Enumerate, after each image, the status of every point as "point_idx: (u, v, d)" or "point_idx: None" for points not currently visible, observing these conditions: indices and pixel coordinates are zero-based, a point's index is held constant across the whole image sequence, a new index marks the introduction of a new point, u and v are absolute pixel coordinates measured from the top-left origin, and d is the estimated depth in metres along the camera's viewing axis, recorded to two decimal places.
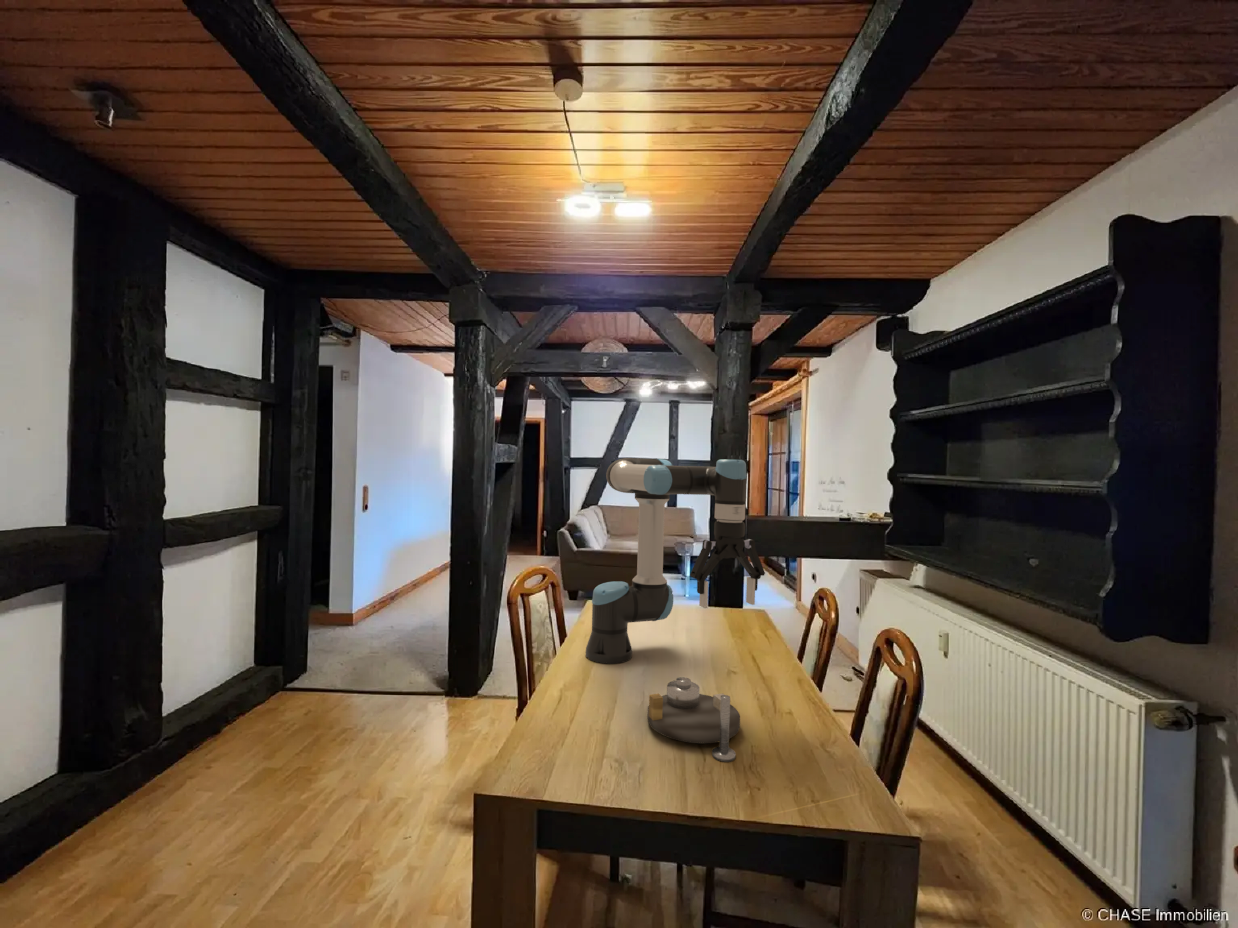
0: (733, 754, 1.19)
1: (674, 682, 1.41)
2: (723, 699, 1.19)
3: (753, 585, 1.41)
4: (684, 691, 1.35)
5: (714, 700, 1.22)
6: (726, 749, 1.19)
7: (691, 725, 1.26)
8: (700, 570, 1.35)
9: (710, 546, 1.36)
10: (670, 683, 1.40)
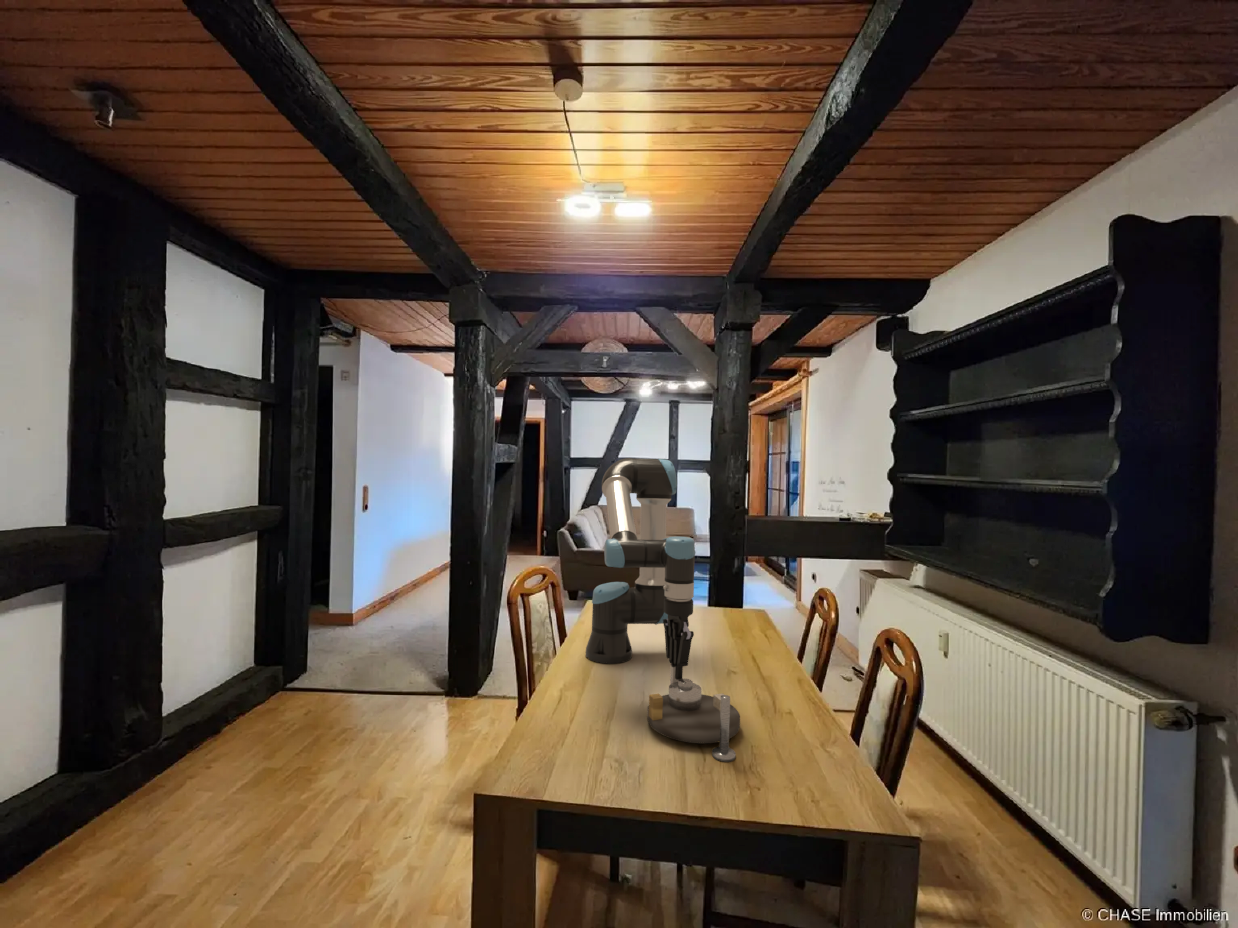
0: (733, 754, 1.19)
1: (676, 683, 1.40)
2: (723, 699, 1.19)
3: (672, 671, 1.41)
4: (686, 692, 1.35)
5: (714, 700, 1.22)
6: (726, 749, 1.19)
7: (691, 725, 1.26)
8: (667, 649, 1.45)
9: (665, 623, 1.46)
10: (672, 684, 1.39)
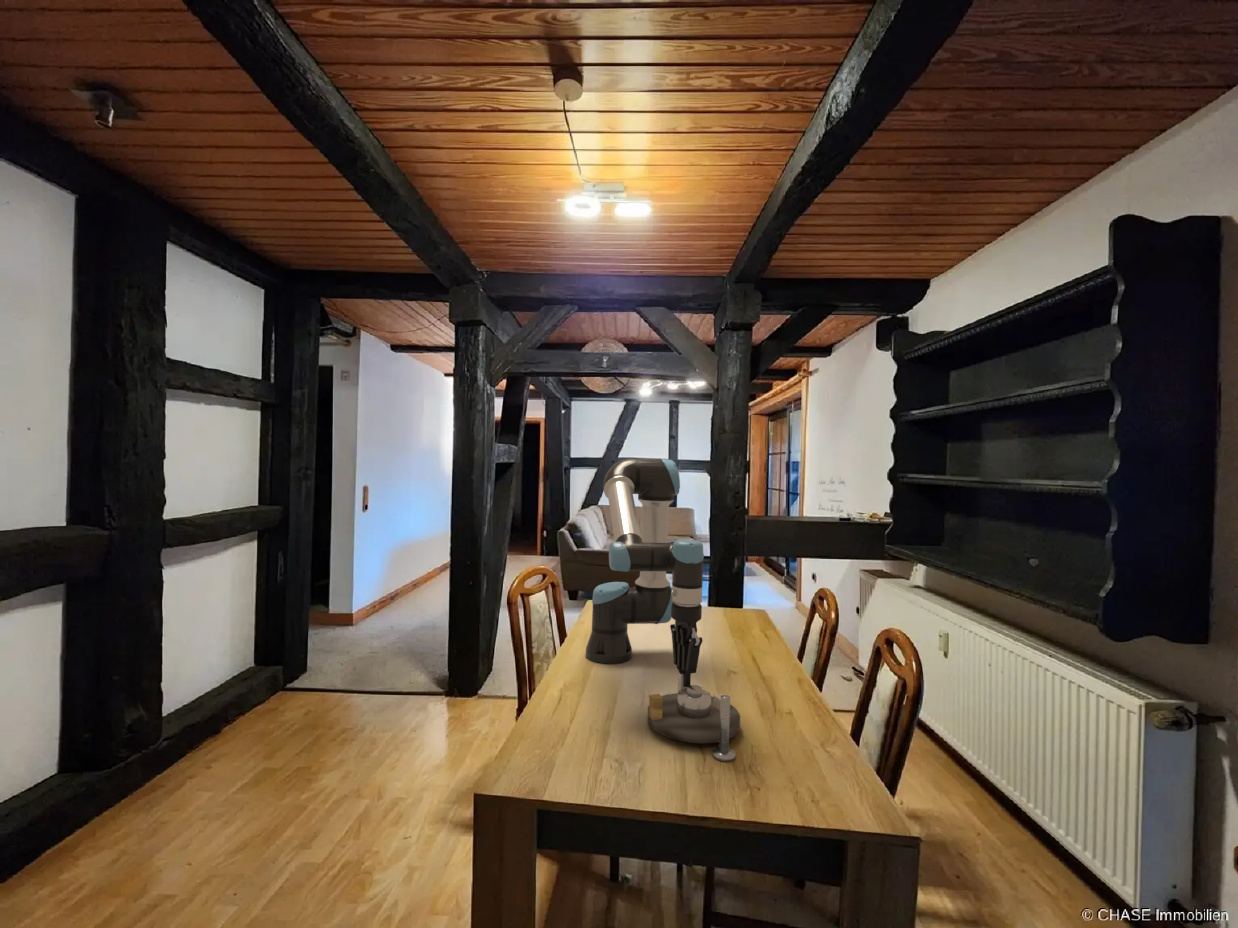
0: (733, 754, 1.19)
1: (684, 690, 1.36)
2: (723, 699, 1.19)
3: (680, 678, 1.37)
4: (696, 700, 1.31)
5: (714, 700, 1.22)
6: (726, 749, 1.19)
7: (691, 725, 1.26)
8: (674, 655, 1.41)
9: (672, 629, 1.42)
10: (680, 691, 1.35)
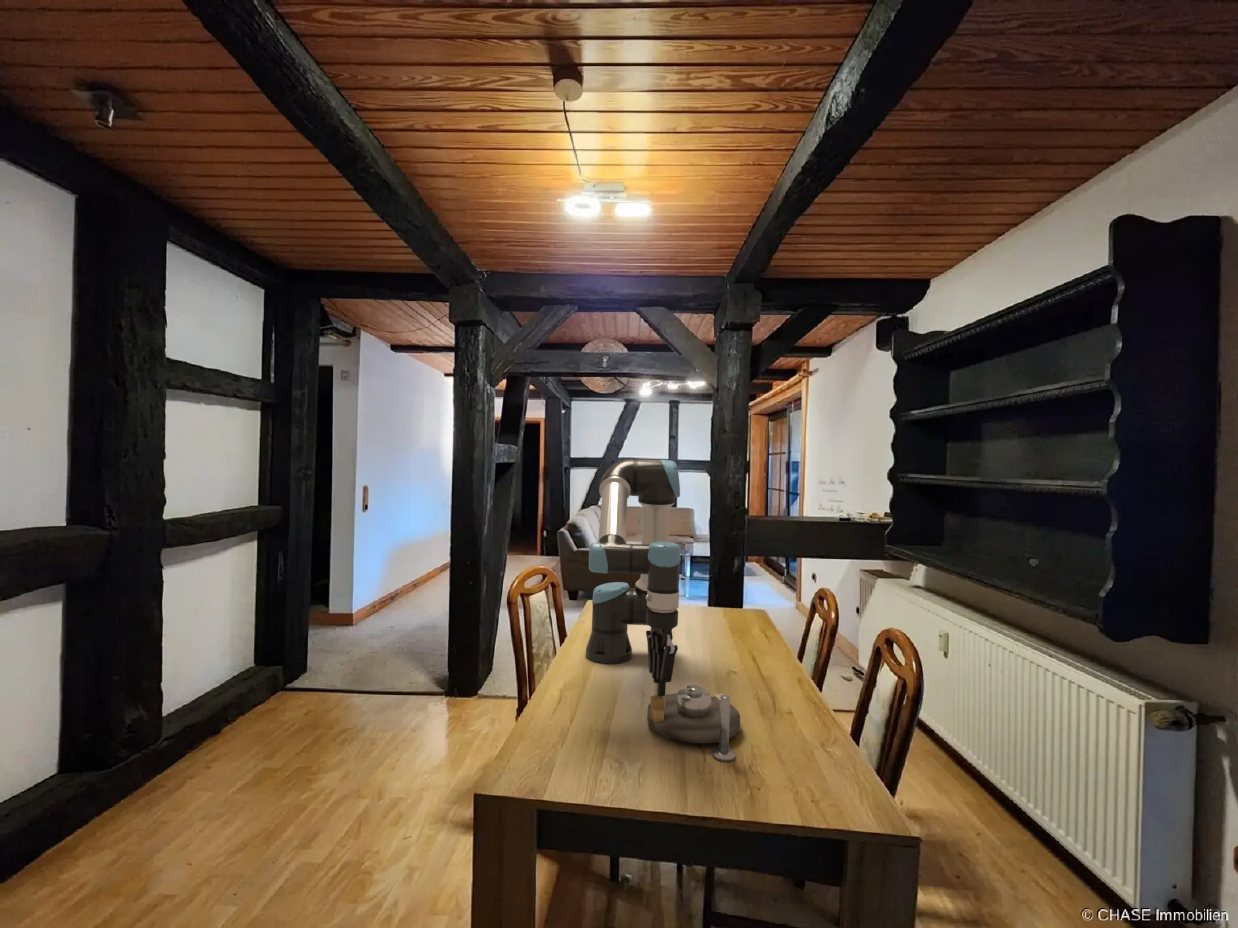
0: (733, 754, 1.19)
1: (683, 690, 1.36)
2: (723, 699, 1.19)
3: (654, 688, 1.31)
4: (697, 700, 1.31)
5: (714, 700, 1.22)
6: (726, 749, 1.19)
7: (694, 725, 1.26)
8: (650, 663, 1.34)
9: (647, 635, 1.35)
10: (680, 692, 1.35)
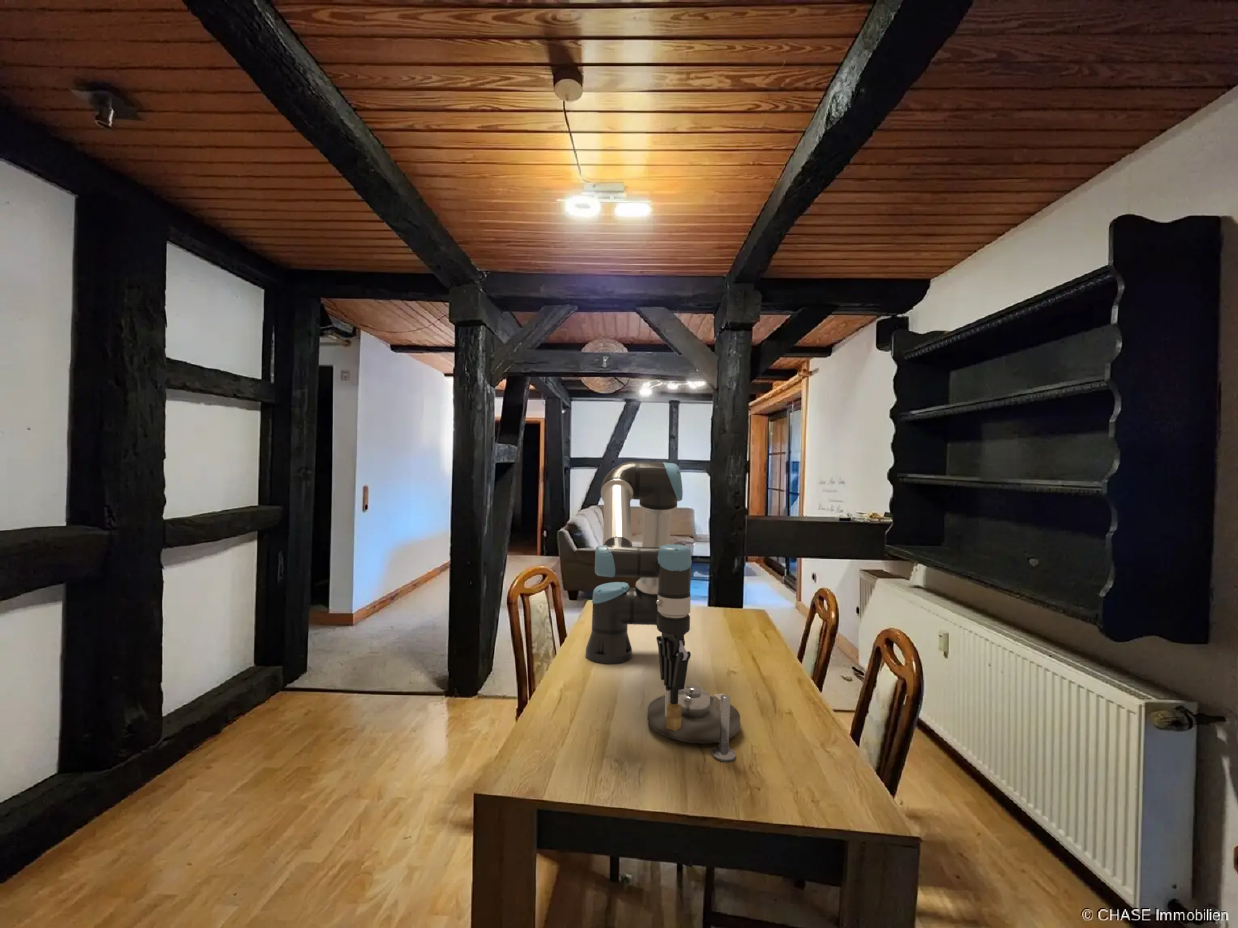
0: (733, 754, 1.19)
1: (680, 693, 1.34)
2: (723, 699, 1.19)
3: (666, 695, 1.27)
4: (702, 699, 1.31)
5: (714, 700, 1.22)
6: (726, 749, 1.19)
7: (710, 724, 1.27)
8: (661, 669, 1.30)
9: (658, 641, 1.31)
10: (679, 695, 1.33)
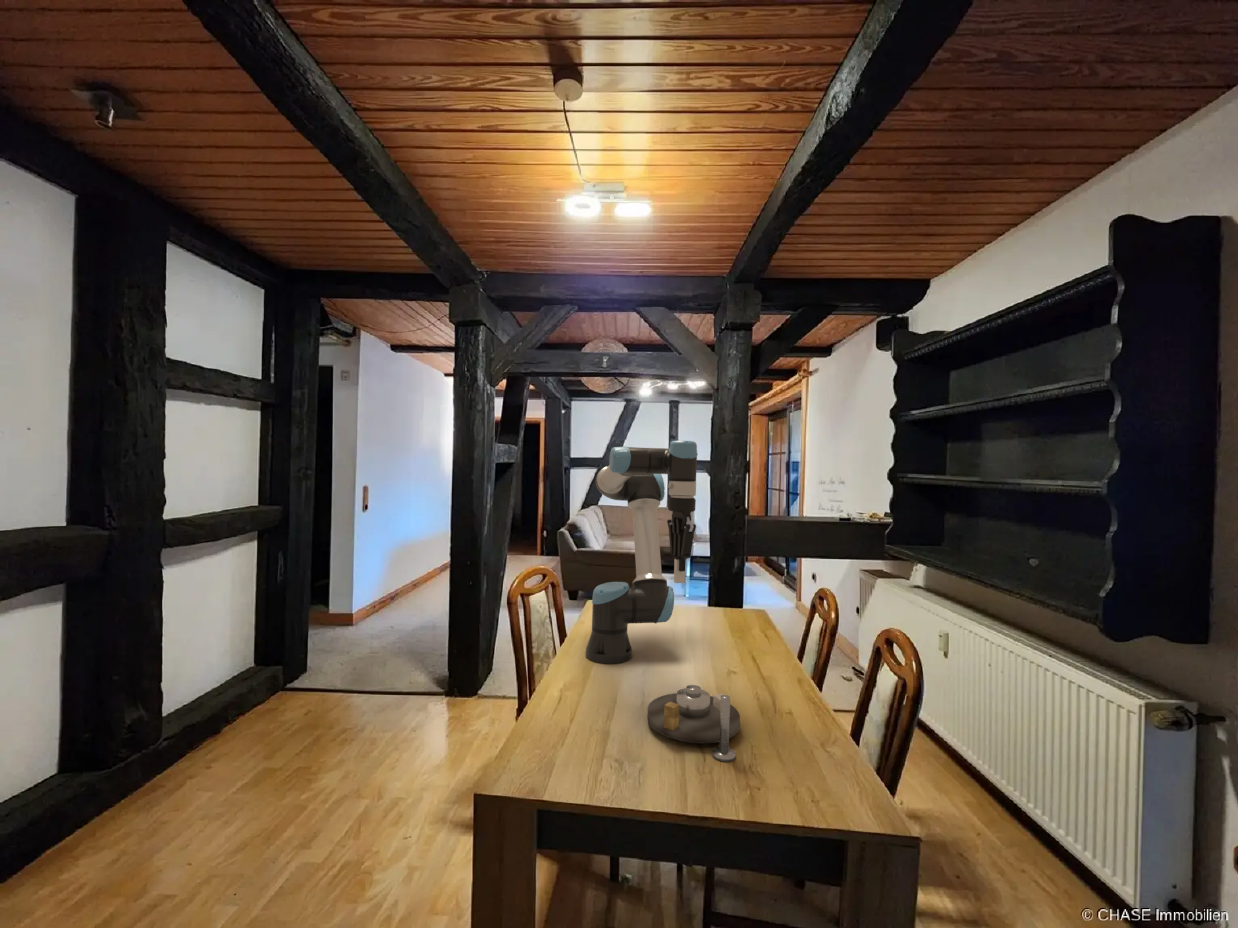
0: (733, 754, 1.19)
1: (680, 692, 1.35)
2: (723, 699, 1.19)
3: (676, 565, 1.52)
4: (701, 699, 1.31)
5: (714, 700, 1.22)
6: (726, 749, 1.19)
7: (708, 724, 1.27)
8: (671, 546, 1.55)
9: (669, 523, 1.57)
10: (679, 694, 1.33)
